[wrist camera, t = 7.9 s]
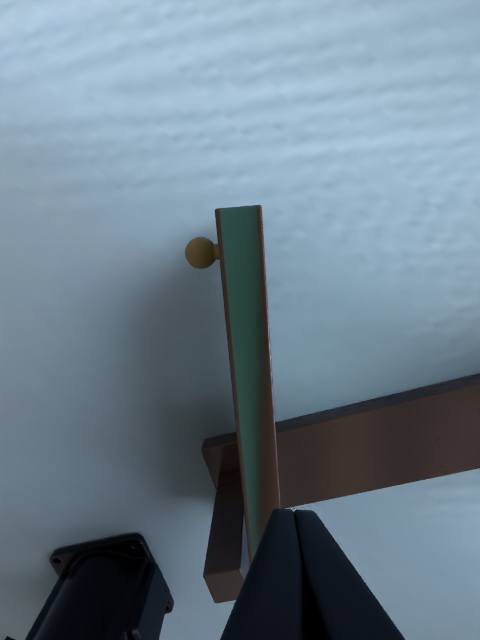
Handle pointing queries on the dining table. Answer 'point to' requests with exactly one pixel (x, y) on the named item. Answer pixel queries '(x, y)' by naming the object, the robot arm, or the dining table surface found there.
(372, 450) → the gate frame
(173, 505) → the dining table surface
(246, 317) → the door
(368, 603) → the robot arm
